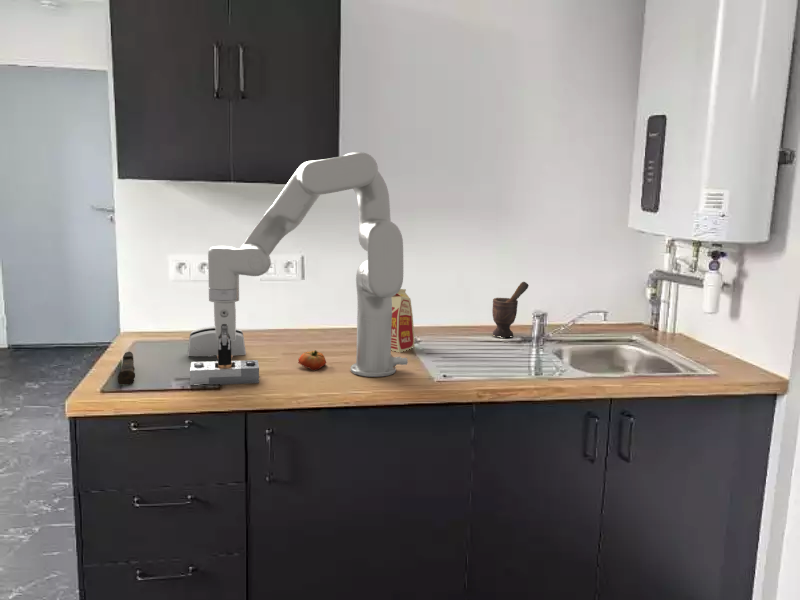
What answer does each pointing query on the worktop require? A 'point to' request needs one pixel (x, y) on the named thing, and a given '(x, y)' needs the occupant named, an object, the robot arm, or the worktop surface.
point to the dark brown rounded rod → (127, 369)
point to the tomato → (312, 360)
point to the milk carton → (402, 322)
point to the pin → (225, 365)
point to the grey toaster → (212, 343)
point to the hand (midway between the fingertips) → (224, 359)
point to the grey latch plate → (224, 373)
